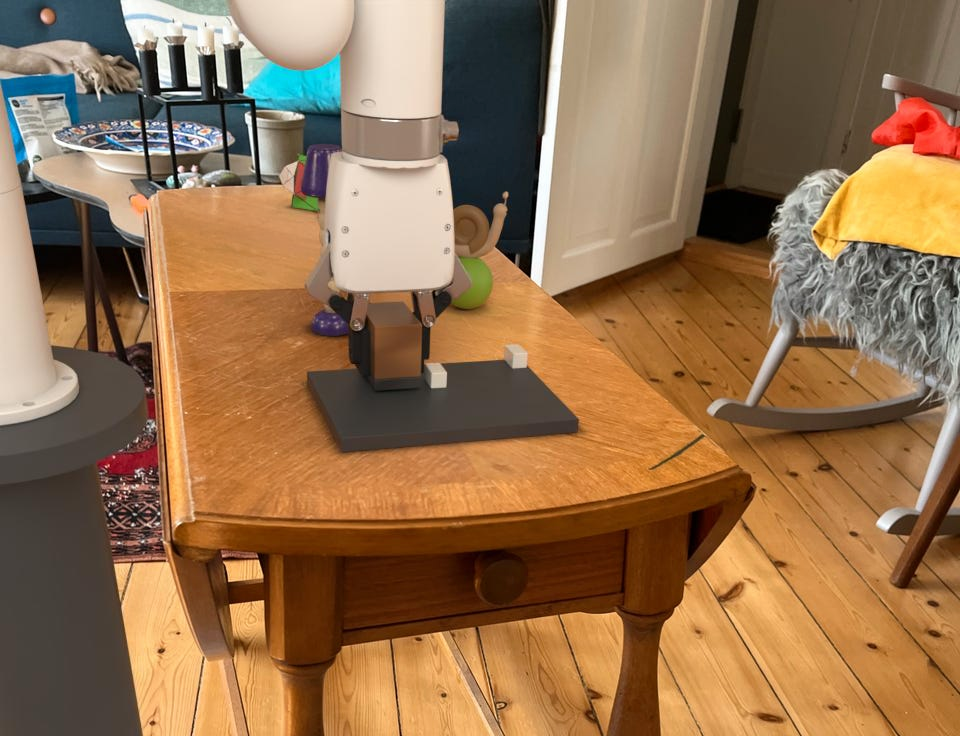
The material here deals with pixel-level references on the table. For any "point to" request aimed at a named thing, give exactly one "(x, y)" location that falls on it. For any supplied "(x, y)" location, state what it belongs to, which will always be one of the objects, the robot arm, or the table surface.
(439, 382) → the chalk piece
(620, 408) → the table surface
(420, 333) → the eraser
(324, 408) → the board
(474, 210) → the snail figurine
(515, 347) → the chalk piece
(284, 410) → the table surface
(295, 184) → the geometric puzzle
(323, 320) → the toy lamp
